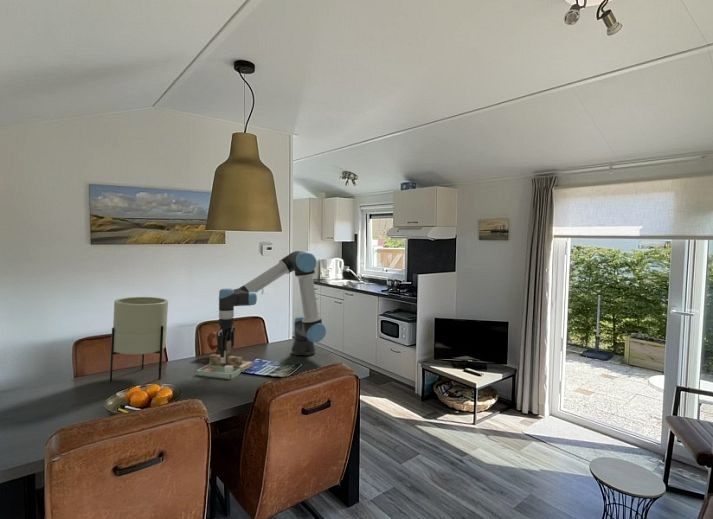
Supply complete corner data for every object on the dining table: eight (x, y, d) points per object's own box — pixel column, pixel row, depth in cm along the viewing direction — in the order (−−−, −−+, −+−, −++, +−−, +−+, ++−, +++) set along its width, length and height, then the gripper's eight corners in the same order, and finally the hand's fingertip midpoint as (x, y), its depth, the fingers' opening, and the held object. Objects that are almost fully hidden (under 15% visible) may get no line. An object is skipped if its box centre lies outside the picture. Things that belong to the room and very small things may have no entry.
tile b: (210, 370, 203) (210, 374, 203) (215, 368, 207) (215, 371, 207) (203, 369, 204) (203, 373, 204) (208, 367, 208) (208, 371, 208)
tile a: (233, 365, 204) (231, 367, 202) (234, 372, 205) (232, 374, 203) (226, 364, 205) (224, 366, 203) (227, 371, 206) (225, 373, 204)
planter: (142, 389, 184) (147, 306, 183) (98, 381, 189) (102, 301, 187) (175, 373, 207) (179, 299, 206) (135, 367, 212) (138, 295, 210)
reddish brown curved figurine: (233, 355, 240) (234, 330, 239) (228, 359, 232) (228, 333, 231) (210, 354, 241) (211, 329, 241) (204, 358, 233) (204, 332, 233)
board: (252, 367, 217) (252, 361, 217) (241, 373, 207) (241, 367, 207) (220, 363, 222) (220, 358, 222) (208, 369, 212) (208, 363, 212)
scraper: (242, 364, 210) (242, 341, 209) (238, 366, 206) (238, 343, 205) (213, 361, 214) (213, 339, 214) (208, 363, 210) (208, 340, 210)
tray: (241, 373, 206) (241, 368, 206) (230, 379, 197) (230, 374, 197) (208, 369, 211) (208, 364, 211) (196, 375, 202) (196, 370, 202)
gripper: (229, 314, 218) (228, 356, 219) (210, 320, 202) (209, 365, 203) (241, 315, 216) (240, 358, 217) (222, 321, 200) (222, 367, 201)
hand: (225, 361), depth 210 cm, fingers closed on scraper, 4 cm apart
